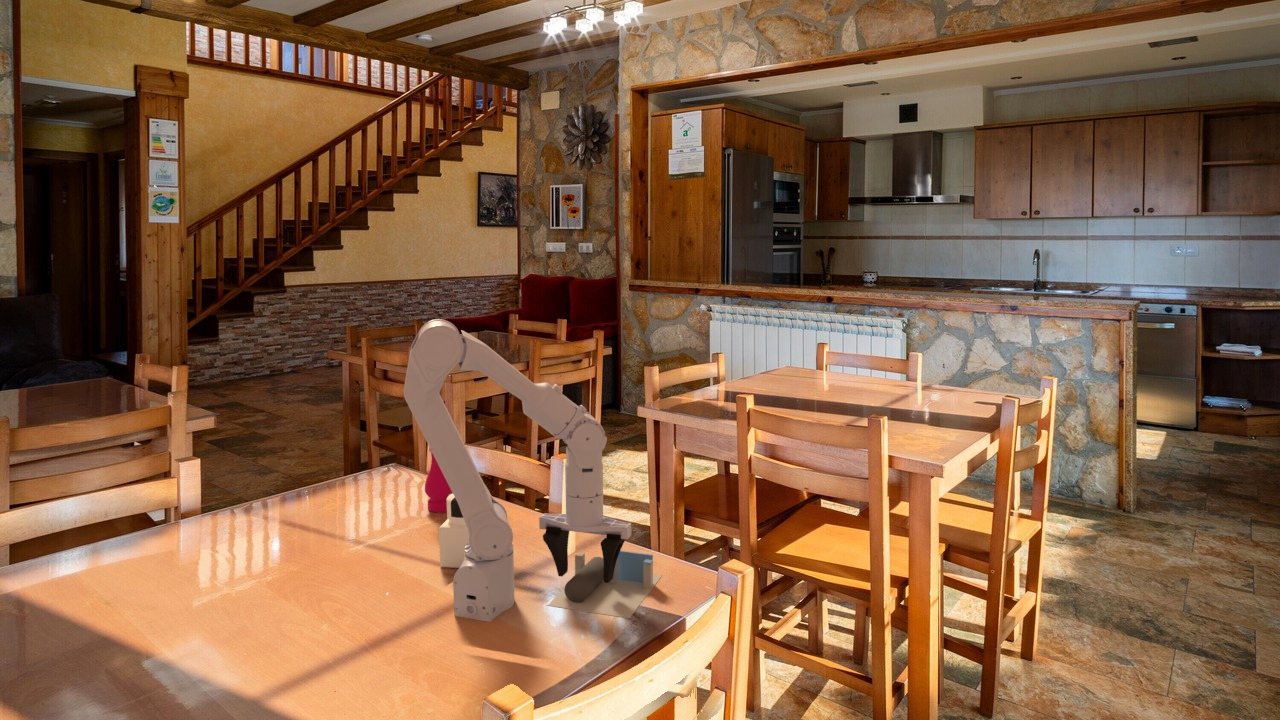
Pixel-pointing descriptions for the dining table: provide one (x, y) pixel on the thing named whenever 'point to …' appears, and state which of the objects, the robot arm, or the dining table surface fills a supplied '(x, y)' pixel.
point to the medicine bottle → (453, 536)
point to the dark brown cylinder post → (585, 580)
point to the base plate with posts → (616, 587)
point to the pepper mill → (437, 488)
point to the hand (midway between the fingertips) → (585, 577)
